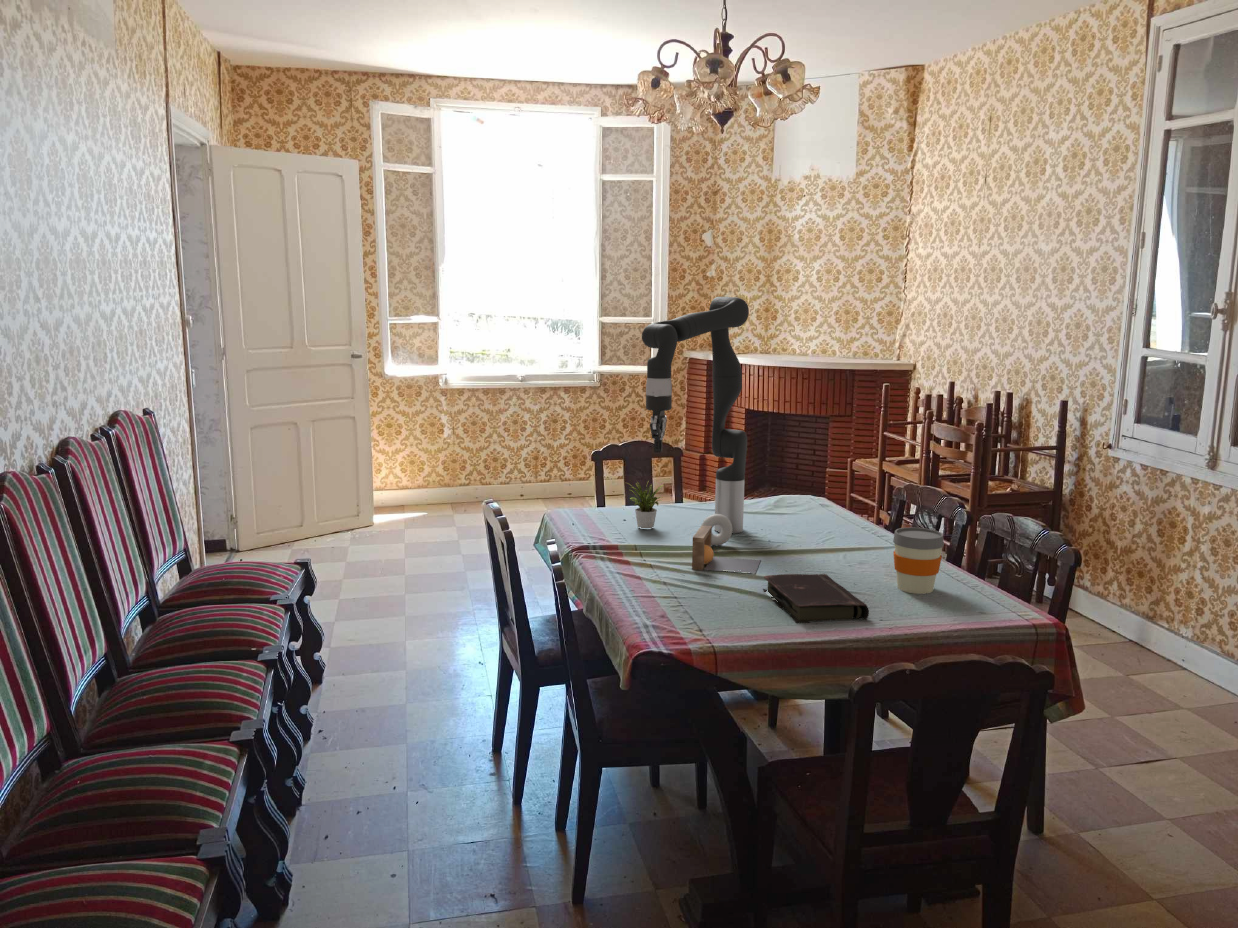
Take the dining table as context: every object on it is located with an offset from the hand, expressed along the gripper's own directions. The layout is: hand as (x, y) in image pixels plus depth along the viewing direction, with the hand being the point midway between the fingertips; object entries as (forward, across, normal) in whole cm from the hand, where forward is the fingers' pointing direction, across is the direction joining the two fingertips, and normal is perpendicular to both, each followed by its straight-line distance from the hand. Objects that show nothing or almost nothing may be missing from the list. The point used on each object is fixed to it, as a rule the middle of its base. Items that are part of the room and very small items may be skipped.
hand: (658, 452), depth 274 cm
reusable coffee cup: (+30, +18, +73) cm, 81 cm away
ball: (+27, +10, +16) cm, 33 cm away
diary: (+30, +39, +47) cm, 69 cm away
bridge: (+30, +10, +15) cm, 35 cm away
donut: (+30, -10, +16) cm, 36 cm away
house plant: (+30, -26, -10) cm, 41 cm away
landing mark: (+30, +10, +24) cm, 40 cm away
